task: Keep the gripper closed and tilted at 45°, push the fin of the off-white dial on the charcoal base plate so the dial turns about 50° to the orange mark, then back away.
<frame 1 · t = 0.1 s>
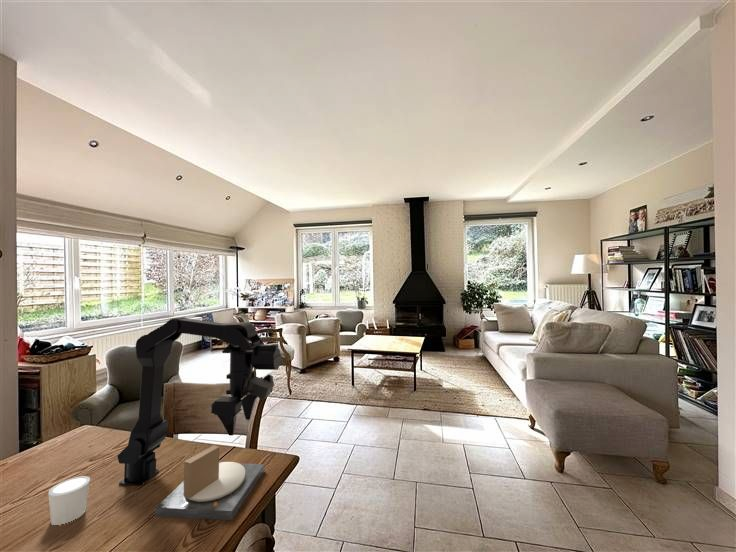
hand: (240, 426, 81), 15 cm above the table, tool pointing down, fingers open, 9 cm apart
dial: (214, 465, 77), point 7 cm above the table, hinge at 0.0°
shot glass: (68, 517, 68), on the table
dial plate: (215, 491, 77), on the table
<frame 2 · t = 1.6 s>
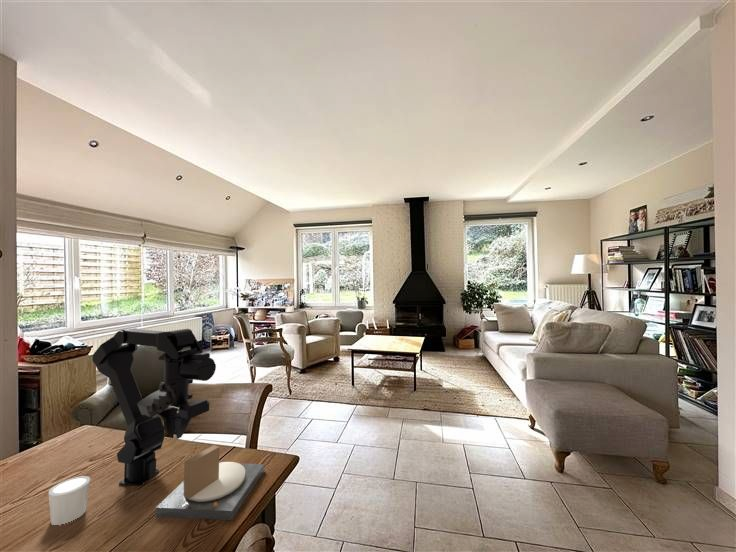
hand: (175, 436, 79), 13 cm above the table, tool pointing down, fingers open, 3 cm apart
nothing on the table moved.
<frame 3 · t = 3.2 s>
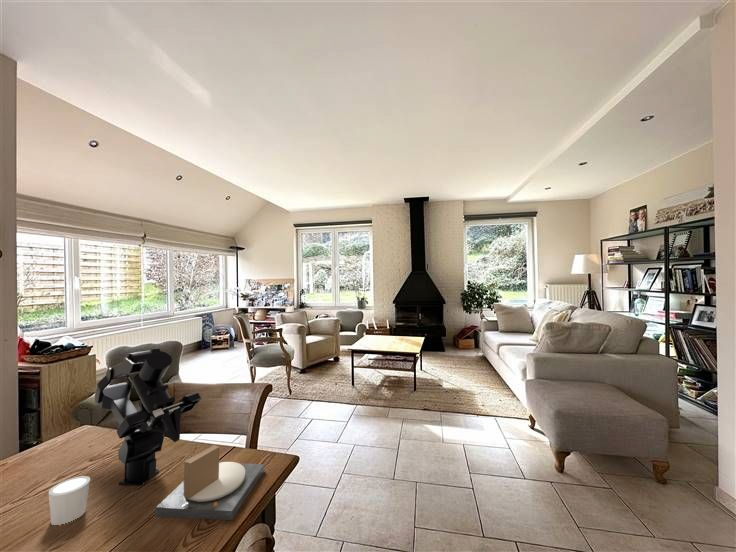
hand: (177, 440, 76), 14 cm above the table, tool tilted 45°, fingers closed
nothing on the table moved.
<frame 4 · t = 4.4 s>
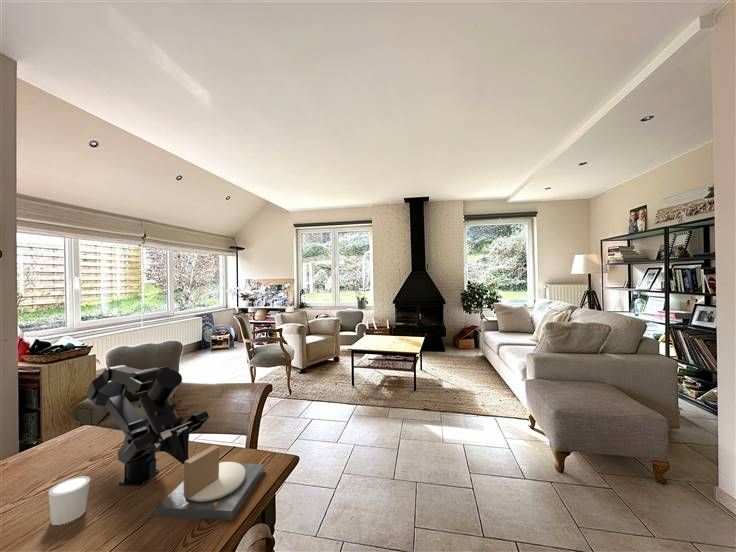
hand: (185, 462, 74), 9 cm above the table, tool tilted 45°, fingers closed
nothing on the table moved.
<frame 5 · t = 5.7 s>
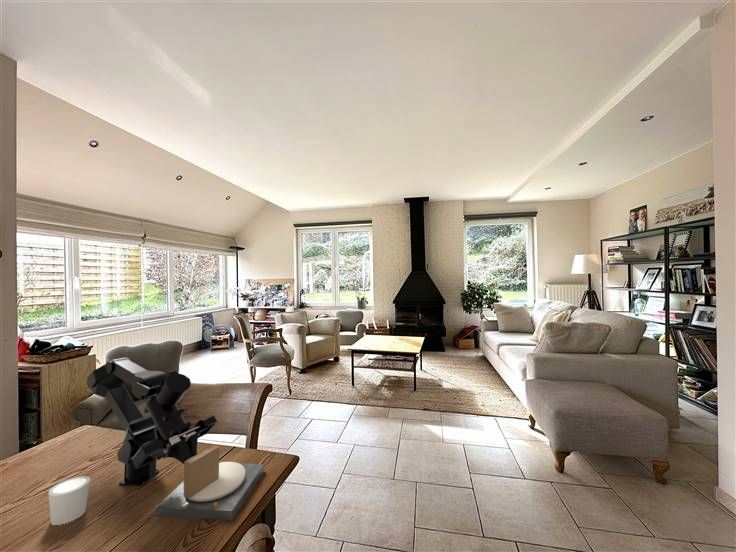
hand: (194, 468, 73), 8 cm above the table, tool tilted 45°, fingers closed, pressing on dial
dial: (214, 465, 77), point 7 cm above the table, hinge at 0.0°, touching gripper
everything else where it was.
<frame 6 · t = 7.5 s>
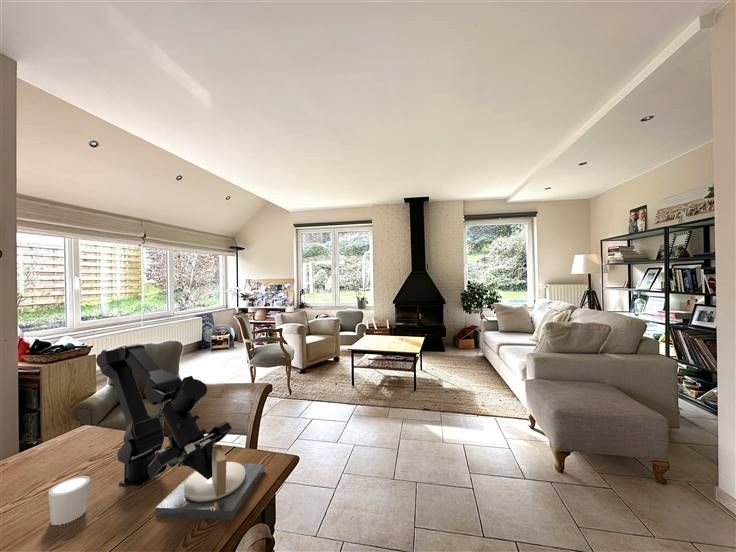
hand: (210, 478, 71), 7 cm above the table, tool tilted 45°, fingers closed
dial: (216, 464, 77), point 7 cm above the table, hinge at 58.1°, touching gripper
everything else where it was.
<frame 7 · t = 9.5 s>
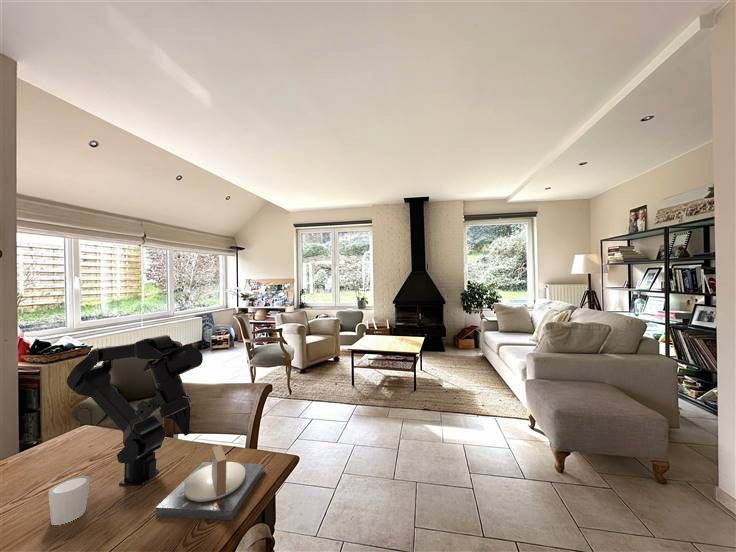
hand: (187, 434, 80), 13 cm above the table, tool tilted 25°, fingers closed
dial: (216, 464, 77), point 7 cm above the table, hinge at 58.2°
everything else where it was.
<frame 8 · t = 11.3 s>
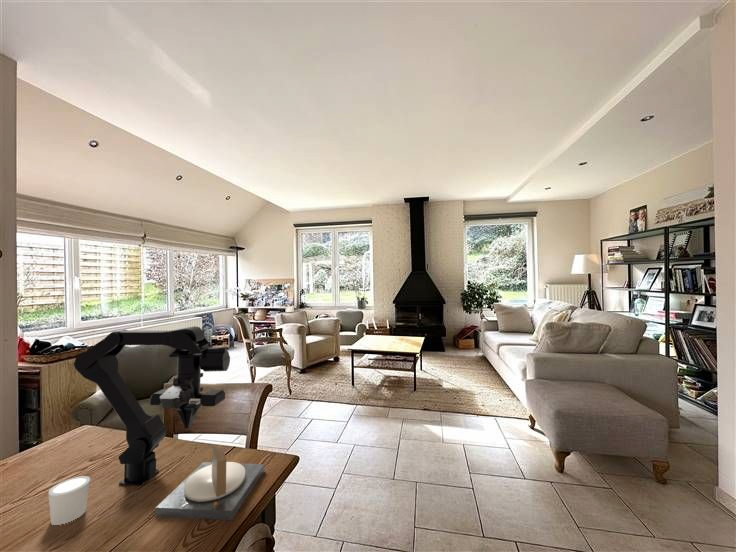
hand: (187, 427, 84), 13 cm above the table, tool pointing down, fingers closed
nothing on the table moved.
at the end: dial at +58° (first picture: +0°) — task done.
